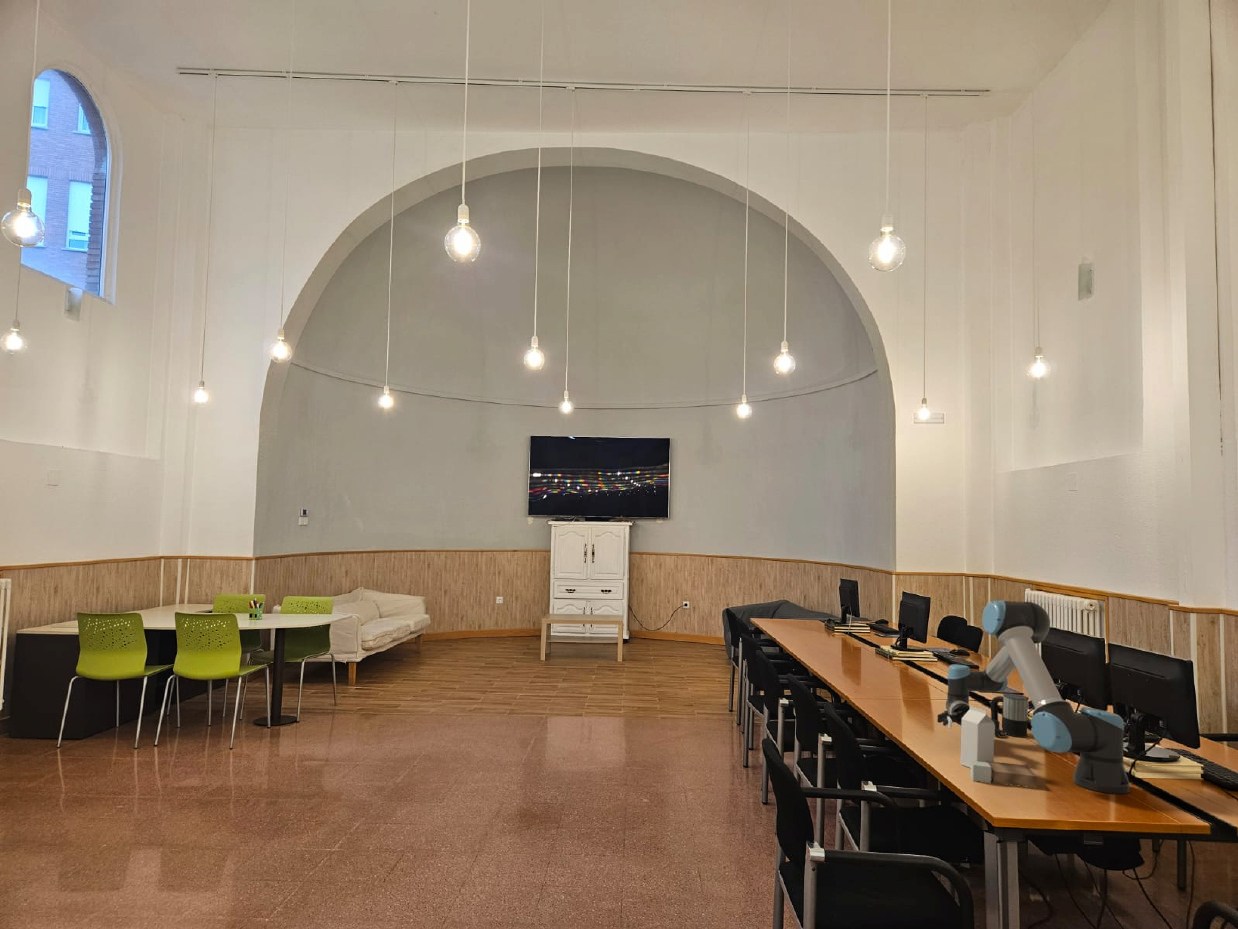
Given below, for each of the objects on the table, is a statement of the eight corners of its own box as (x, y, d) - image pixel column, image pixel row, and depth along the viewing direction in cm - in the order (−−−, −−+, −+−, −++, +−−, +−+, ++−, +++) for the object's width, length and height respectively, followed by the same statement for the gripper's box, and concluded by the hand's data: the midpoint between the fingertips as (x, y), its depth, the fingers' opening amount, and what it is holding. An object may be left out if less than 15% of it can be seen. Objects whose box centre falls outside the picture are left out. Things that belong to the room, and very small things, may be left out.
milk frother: (1029, 734, 322) (1030, 695, 323) (1025, 742, 308) (1026, 702, 309) (989, 728, 329) (990, 690, 330) (984, 736, 316) (985, 696, 317)
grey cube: (987, 779, 259) (987, 762, 259) (990, 783, 254) (990, 767, 255) (970, 777, 260) (970, 760, 261) (973, 781, 255) (973, 765, 256)
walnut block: (1026, 778, 263) (1027, 765, 263) (1036, 789, 252) (1036, 776, 252) (986, 773, 266) (986, 761, 266) (993, 784, 254) (994, 771, 255)
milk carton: (976, 771, 267) (978, 711, 268) (960, 764, 273) (961, 706, 275) (993, 769, 269) (994, 710, 271) (976, 763, 276) (978, 705, 277)
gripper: (998, 727, 299) (1011, 742, 279) (925, 719, 305) (932, 734, 285) (999, 706, 300) (1012, 720, 279) (926, 699, 306) (933, 712, 285)
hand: (972, 727), depth 282 cm, fingers open, 13 cm apart
